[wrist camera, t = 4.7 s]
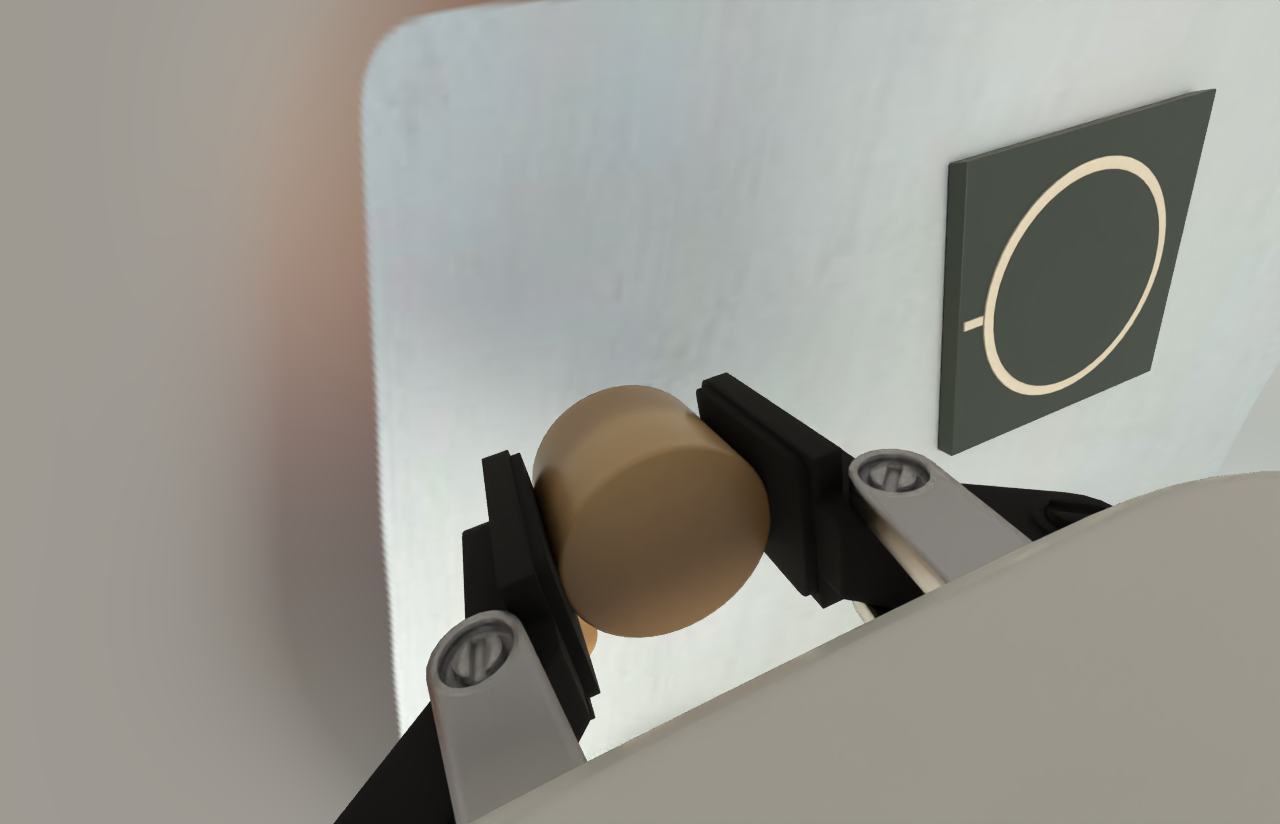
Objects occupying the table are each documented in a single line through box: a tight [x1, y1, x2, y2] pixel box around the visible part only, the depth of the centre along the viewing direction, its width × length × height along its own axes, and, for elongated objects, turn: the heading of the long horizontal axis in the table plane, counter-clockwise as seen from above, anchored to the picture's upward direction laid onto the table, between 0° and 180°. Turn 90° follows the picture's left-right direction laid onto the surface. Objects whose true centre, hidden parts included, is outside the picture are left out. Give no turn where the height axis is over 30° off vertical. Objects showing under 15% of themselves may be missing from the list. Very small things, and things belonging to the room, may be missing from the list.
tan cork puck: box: [532, 385, 771, 638], centre depth 10 cm, size 4×4×3 cm
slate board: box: [938, 89, 1216, 456], centre depth 29 cm, size 16×16×1 cm
